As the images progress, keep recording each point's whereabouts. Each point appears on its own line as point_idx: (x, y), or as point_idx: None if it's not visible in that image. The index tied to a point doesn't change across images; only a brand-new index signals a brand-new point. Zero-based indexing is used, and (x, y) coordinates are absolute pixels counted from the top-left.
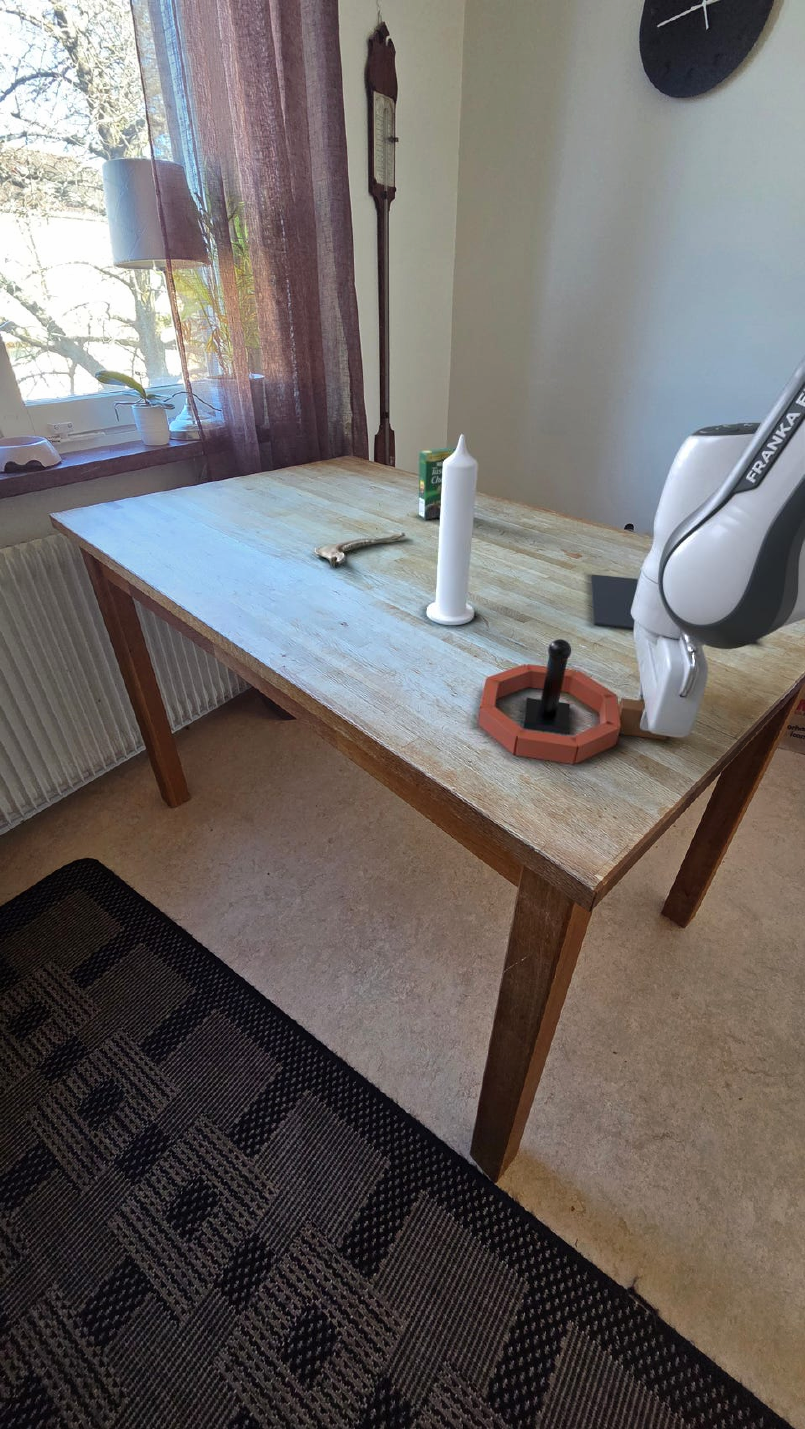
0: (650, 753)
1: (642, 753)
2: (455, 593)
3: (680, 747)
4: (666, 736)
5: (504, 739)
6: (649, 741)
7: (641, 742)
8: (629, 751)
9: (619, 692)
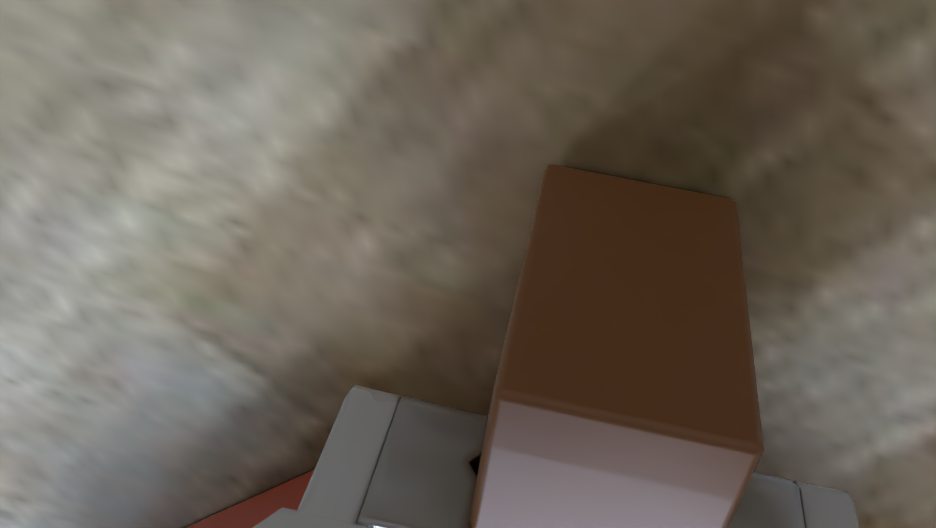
0: (928, 376)
1: (916, 431)
2: None
3: (873, 76)
4: (736, 226)
5: None
6: None
7: None
8: (871, 503)
9: (27, 338)
